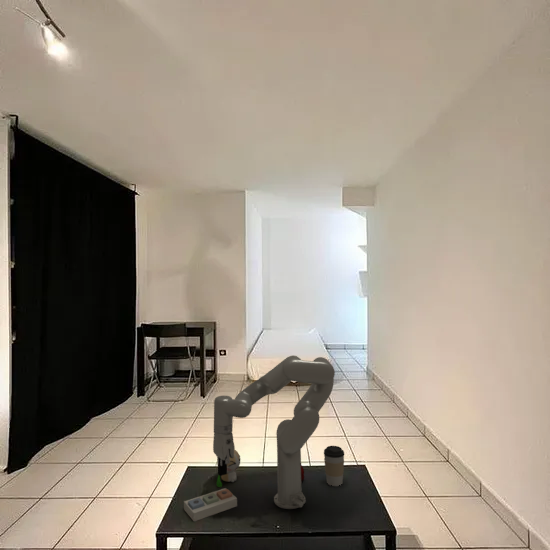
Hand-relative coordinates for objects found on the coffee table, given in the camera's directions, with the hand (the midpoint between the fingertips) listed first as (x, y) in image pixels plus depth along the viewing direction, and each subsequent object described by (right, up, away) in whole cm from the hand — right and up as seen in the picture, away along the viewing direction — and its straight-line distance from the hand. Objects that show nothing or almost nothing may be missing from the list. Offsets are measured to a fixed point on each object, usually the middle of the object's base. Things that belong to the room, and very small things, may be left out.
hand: (222, 474), depth 160 cm
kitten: (0, -12, +18) cm, 22 cm away
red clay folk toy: (+30, -12, +17) cm, 37 cm away
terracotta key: (+1, -10, 0) cm, 10 cm away
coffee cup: (+47, -11, +15) cm, 51 cm away
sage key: (-4, -10, -4) cm, 11 cm away
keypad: (-4, -11, -4) cm, 13 cm away
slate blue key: (-9, -10, -7) cm, 15 cm away
